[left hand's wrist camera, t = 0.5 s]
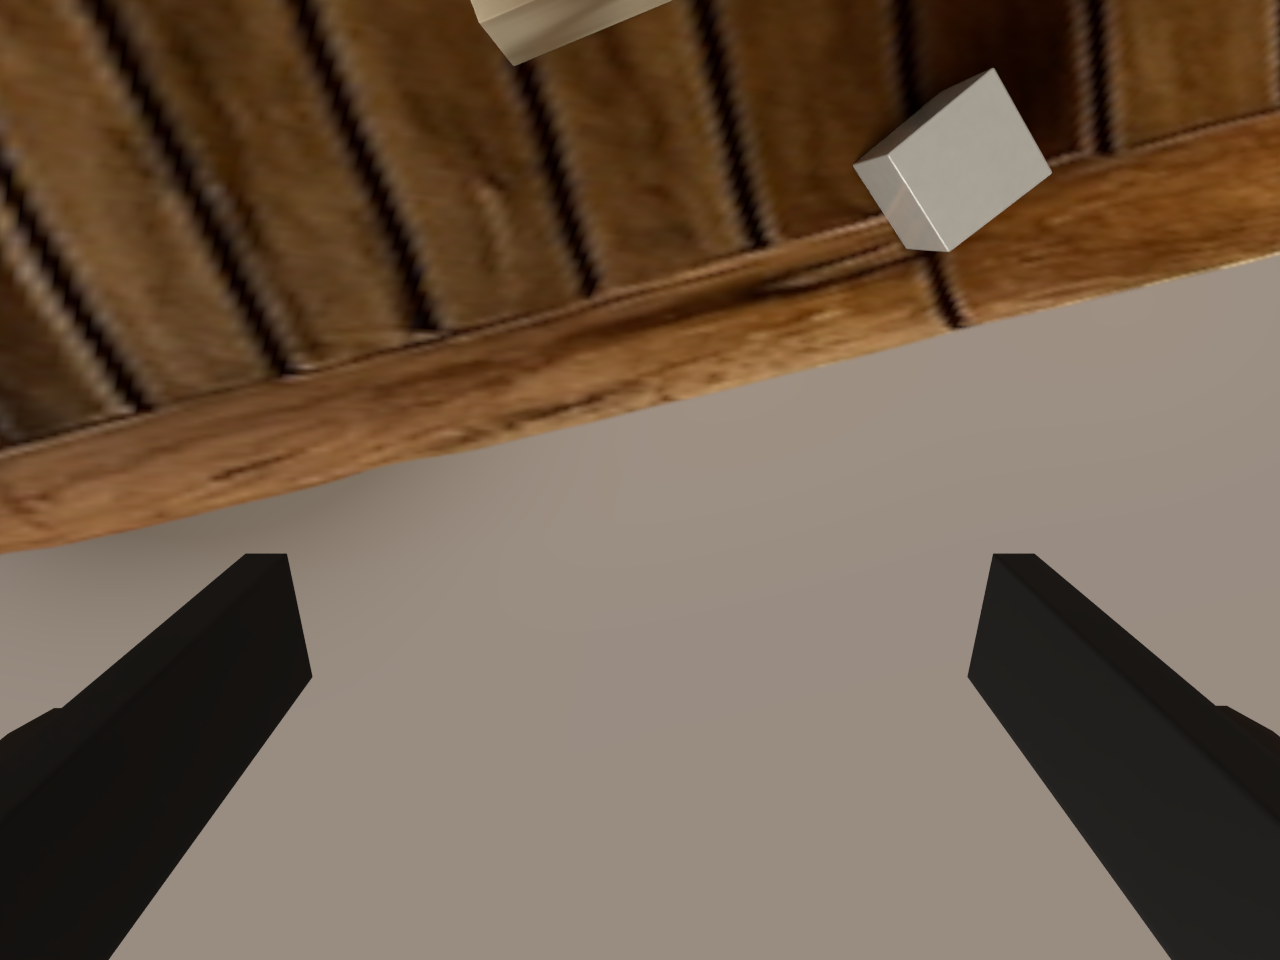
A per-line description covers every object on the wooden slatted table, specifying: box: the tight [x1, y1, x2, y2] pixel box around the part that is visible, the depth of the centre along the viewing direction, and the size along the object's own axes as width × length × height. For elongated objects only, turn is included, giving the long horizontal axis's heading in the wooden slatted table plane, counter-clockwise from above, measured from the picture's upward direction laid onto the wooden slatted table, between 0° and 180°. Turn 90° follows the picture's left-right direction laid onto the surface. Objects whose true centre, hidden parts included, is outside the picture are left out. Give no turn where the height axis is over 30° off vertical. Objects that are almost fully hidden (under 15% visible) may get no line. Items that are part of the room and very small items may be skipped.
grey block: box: [853, 68, 1052, 252], centre depth 30 cm, size 5×5×5 cm
